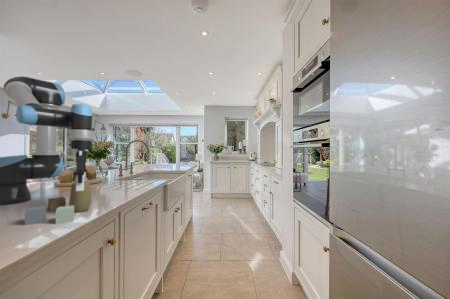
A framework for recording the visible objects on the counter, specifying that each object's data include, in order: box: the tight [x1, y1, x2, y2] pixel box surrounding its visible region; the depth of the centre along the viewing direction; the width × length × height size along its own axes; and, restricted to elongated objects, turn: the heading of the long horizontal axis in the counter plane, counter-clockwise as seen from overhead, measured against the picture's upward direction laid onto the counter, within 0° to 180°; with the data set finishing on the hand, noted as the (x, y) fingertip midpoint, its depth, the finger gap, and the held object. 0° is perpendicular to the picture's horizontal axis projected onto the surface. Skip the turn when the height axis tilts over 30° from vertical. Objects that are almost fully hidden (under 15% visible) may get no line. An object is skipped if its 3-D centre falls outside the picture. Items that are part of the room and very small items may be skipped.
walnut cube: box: [47, 196, 67, 213], centre depth 92 cm, size 5×5×5 cm
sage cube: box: [55, 205, 75, 225], centre depth 78 cm, size 5×5×5 cm
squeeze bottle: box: [68, 176, 92, 213], centre depth 91 cm, size 8×8×18 cm
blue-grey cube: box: [24, 205, 47, 226], centre depth 76 cm, size 5×5×5 cm
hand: (81, 188), depth 91 cm, fingers open, 13 cm apart
